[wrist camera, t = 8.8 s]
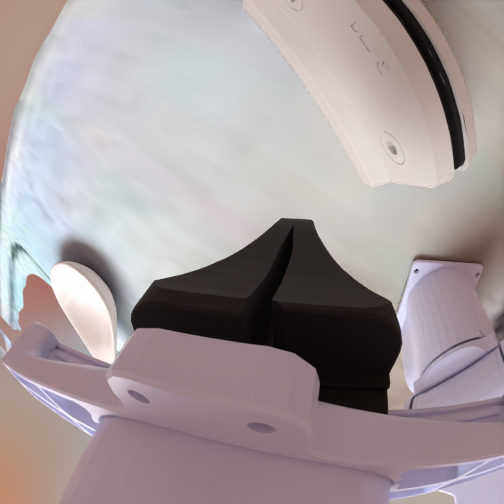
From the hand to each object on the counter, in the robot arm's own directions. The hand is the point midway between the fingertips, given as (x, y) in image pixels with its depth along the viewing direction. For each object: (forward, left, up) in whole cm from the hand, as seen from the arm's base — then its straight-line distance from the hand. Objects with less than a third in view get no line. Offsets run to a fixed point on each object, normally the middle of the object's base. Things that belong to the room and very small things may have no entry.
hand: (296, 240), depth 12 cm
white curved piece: (+8, -3, -11) cm, 14 cm away
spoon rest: (-20, +26, -11) cm, 35 cm away
